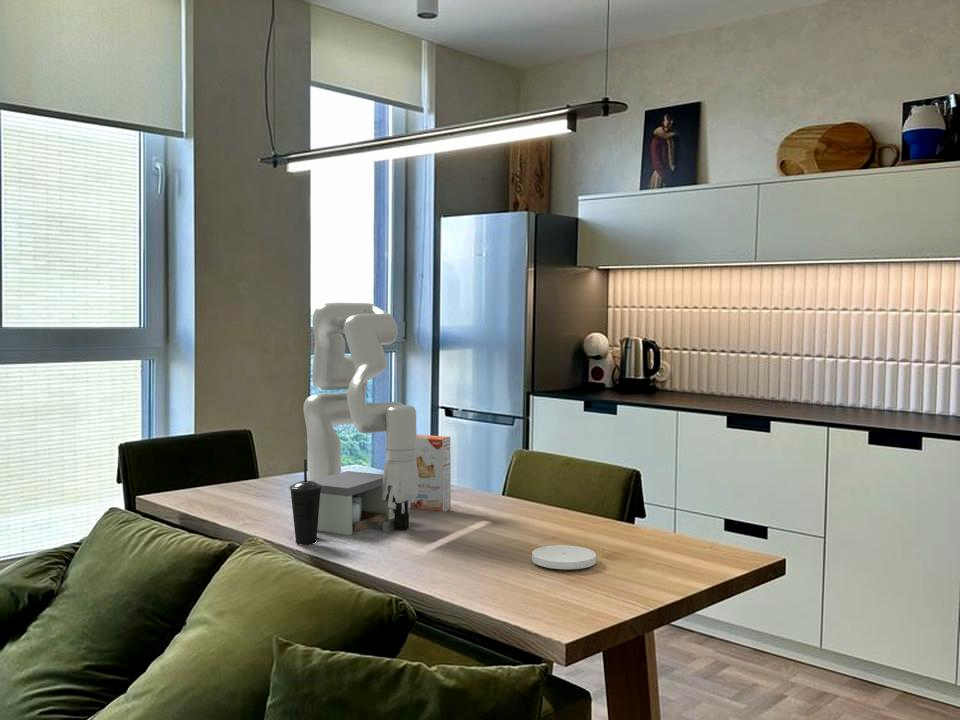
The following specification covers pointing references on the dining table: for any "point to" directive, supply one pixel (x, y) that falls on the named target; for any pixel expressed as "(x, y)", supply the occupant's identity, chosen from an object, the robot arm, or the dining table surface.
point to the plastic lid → (564, 557)
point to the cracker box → (433, 473)
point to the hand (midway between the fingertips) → (401, 528)
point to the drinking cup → (305, 509)
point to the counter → (348, 499)
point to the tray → (374, 522)
